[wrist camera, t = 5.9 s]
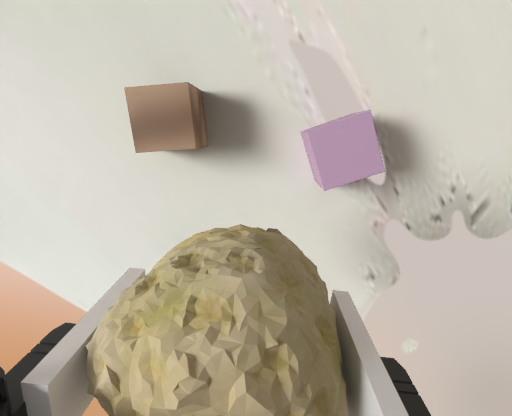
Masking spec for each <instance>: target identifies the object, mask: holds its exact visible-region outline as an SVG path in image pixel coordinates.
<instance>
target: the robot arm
mask: <svg viewBox="0 0 512 416" xmlns="http://www.w3.org/2000/svg"><path fill="white" fill-rule="evenodd" d="M143 277H145V269H136V268H129V269H128V270H127V271H126V273H125V274H124V275H123V276H122V277H121V278H120V279H119V280H118V281H117V282H116V283H115V284H114V285H113V286H112V287H111V288H110V289H109V290H108V291H107V292H106V293H105V295H104V296H103V297H102V298H101V299H100V300H99V301H98V302H97V303H96V304H95V305H94V306H93V307H92V308H91V309H90V310H89V311H88V312H87V313H86V314H85V315H84V316H83V318H82V319H81V320H80V321H79V322H78V323H77V324H72V323H64V324H63V325H61V326H59V327H57V328H56V329H54V330H52V331H51V332H50V333H49V334H48V335H47V336H45V338H43V339H42V340H41V341H40V344H37V345H36V346H35V347H34V348H33V349H32V350H31V352H30V353H28V354H27V355H26V356H25V357H24V358H22V360H21V361H20V362H18V363H17V364H16V365H15V366H14V367H13V368H12V369H11V370H10V371H9V372H8V373H7V374H6V375H5V373H4V370H3V369H2V368H1V367H0V416H82V415H83V413H84V412H85V410H86V409H87V407H88V405H89V404H90V402H91V401H92V399H93V398H94V396H93V395H90V394H87V390H88V386H89V380H88V377H87V373H86V361H87V354H88V351H87V348H86V345H87V344H88V343H89V342H90V341H91V339H92V337H93V335H94V333H95V331H96V329H97V327H98V325H99V323H100V321H101V319H102V318H103V316H104V314H105V313H106V312H108V308H109V307H111V306H114V305H115V303H116V301H117V299H118V298H119V296H120V295H121V293H122V292H123V291H124V290H125V289H127V288H129V287H131V285H132V283H133V282H134V281H136V280H137V279H139V278H143ZM330 306H331V307H332V308H333V309H334V310H335V312H336V326H337V333H338V338H339V343H340V349H341V354H342V362H341V372H342V377H343V379H344V381H345V383H346V400H347V407H348V414H349V416H431V415H430V413H429V411H428V410H427V407H426V406H425V404H424V402H423V400H422V398H421V397H420V396H419V395H418V392H417V390H416V388H415V386H414V385H413V384H412V381H411V379H410V377H409V376H408V374H407V372H406V370H405V369H404V368H403V367H402V366H401V365H400V364H399V363H398V362H397V361H396V360H395V359H394V358H386V357H380V356H379V354H378V352H377V350H376V348H375V346H374V344H373V342H372V340H371V338H370V336H369V334H368V332H367V330H366V328H365V326H364V323H363V321H362V319H361V317H360V315H359V313H358V311H357V309H356V307H355V305H354V303H353V301H352V299H351V297H350V295H349V293H348V292H345V291H336V290H333V292H332V297H331V302H330Z"/></svg>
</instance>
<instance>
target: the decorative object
mask: <svg viewBox="0 0 512 416" xmlns="http://www.w3.org/2000/svg"><path fill="white" fill-rule="evenodd" d="M268 231H269V232H268ZM86 348H87V351H88V354H87V361H86V373H87V377H88V380H89V386H88V390H87V394H90V395H93V396H94V397H96V398H97V399H98V401H99V403H100V405H101V406H102V407H103V408H104V410H105V411H106V412H107V413H108V415H109V416H349V414H348V407H347V400H346V383H345V381H344V379H343V377H342V372H341V362H342V354H341V349H340V343H339V338H338V333H337V326H336V312H335V310H334V309H333V308H332V307H331V306H330V305H329V301H328V291H327V288H326V284H325V282H324V281H323V280H321V278H320V276H319V275H318V272H317V267H316V266H315V265H314V264H313V263H312V262H311V261H310V260H309V259H308V258H307V257H306V256H305V255H304V254H303V252H302V251H301V250H300V249H299V248H298V247H297V246H296V245H295V244H294V243H293V242H292V241H290V240H289V239H288V238H287V237H286V236H284V235H283V234H282V233H281V232H280V231H279V230H278V229H271V228H268V229H267V231H265V230H263V229H261V228H250V227H247V226H244V225H241V224H240V225H236V226H233V227H230V228H228V229H226V228H214V229H211V230H209V231H206V232H201V233H197V234H195V235H193V236H192V237H190V238H189V239H187V240H185V241H183V242H181V243H180V244H178V245H177V246H175V247H174V248H173V249H172V250H171V251H170V252H168V253H167V254H166V255H165V256H164V257H163V258H162V259H161V260H160V261H159V262H158V263H157V264H156V265H155V266H154V267H153V268H152V271H151V272H150V273H149V274H148V275H147V276H145V277H143V278H139V279H137V280H136V281H134V282H133V283H132V285H131V287H129V288H127V289H125V290H124V291H123V292H122V293H121V295H120V296H119V298H118V299H117V301H116V303H115V305H114V306H111V307H109V308H108V312H106V313H105V314H104V316H103V318H102V319H101V321H100V323H99V325H98V327H97V329H96V331H95V333H94V335H93V337H92V339H91V341H90V342H89V343H88V344H87V345H86Z"/></svg>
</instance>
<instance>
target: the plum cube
mask: <svg viewBox="0 0 512 416" xmlns="http://www.w3.org/2000/svg"><path fill="white" fill-rule="evenodd" d="M301 136H302V139H303V142H304V146H305V149H306V152H307V156H308V159H309V162H310V166H311V169H312V173H313V176H314V179H315V181H316V182H317V183H318V184H319V186H320V187H321V188H322V189H323V190H324V191H326V190H329V189H332V188H335V187H338V186H341V185H344V184H348V183H351V182H354V181H357V180H360V179H363V178H366V177H369V176H372V175H375V174H379V173H382V172H385V170H384V166H383V162H382V157H381V153H380V149H379V145H378V140H377V136H376V132H375V127H374V123H373V119H372V114H371V110H368V111H363V112H358V113H353V114H350V115H347V116H344V117H341V118H339V119H335V120H332V121H330V122H327V123H324V124H321V125H318V126H316V127H313V128H310V129H307V130H304V131H301Z"/></svg>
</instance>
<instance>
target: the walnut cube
mask: <svg viewBox="0 0 512 416" xmlns="http://www.w3.org/2000/svg"><path fill="white" fill-rule="evenodd" d="M124 89H125V94H126V100H127V105H128V111H129V117H130V122H131V128H132V134H133V139H134V145H135V150H136V153H141V152H155V151H169V150H184V149H196V148H200V147H204V146H208V141H207V132H206V123H205V115H204V106H203V97H202V91H201V90H199V89H198V88H196V87H195V86H193V85H191V84H190V83H188V82H185V83H173V84H161V85H149V86H137V87H125V88H124Z"/></svg>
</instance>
